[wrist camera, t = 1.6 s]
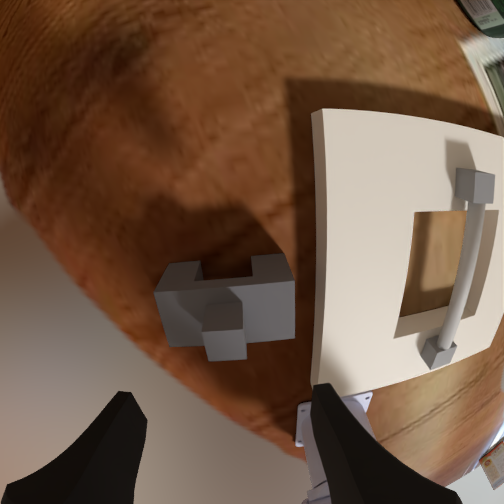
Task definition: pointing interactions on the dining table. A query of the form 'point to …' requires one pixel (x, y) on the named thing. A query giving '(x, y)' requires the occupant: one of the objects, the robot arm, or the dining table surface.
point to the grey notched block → (227, 307)
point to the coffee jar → (486, 15)
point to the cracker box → (494, 465)
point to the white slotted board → (400, 244)
